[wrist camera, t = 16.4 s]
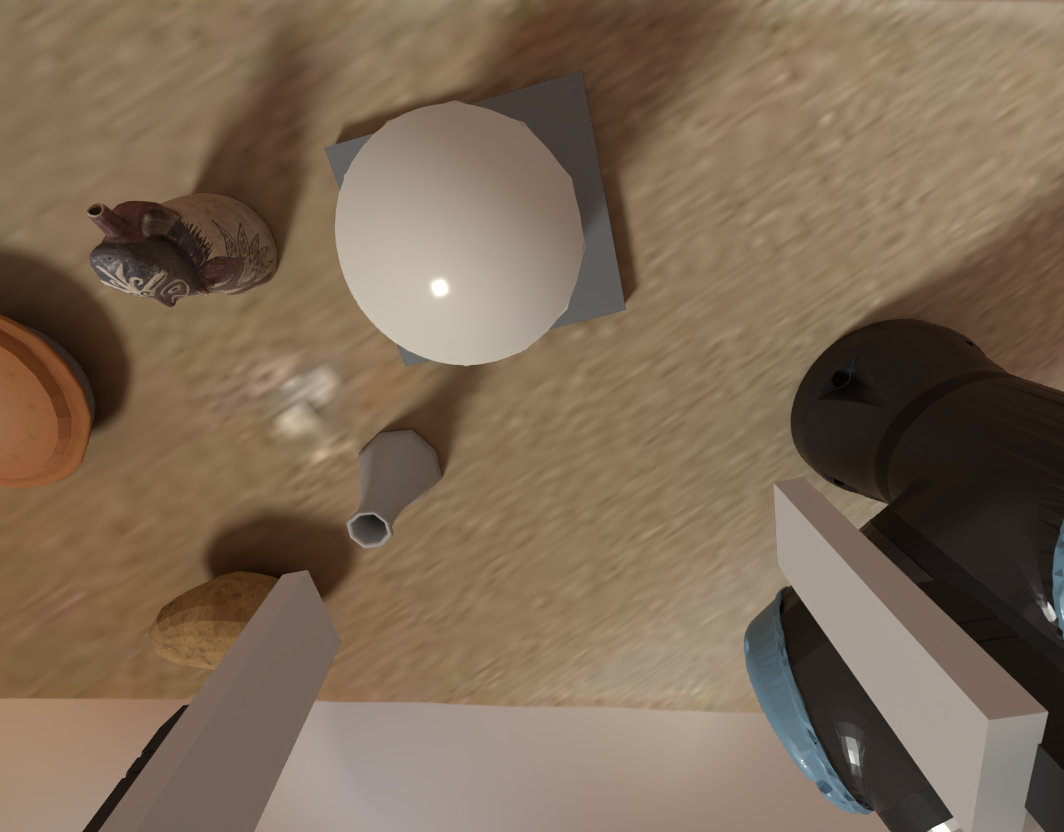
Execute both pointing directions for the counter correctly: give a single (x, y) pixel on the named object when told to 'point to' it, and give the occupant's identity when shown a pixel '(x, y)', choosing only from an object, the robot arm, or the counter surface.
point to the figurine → (183, 247)
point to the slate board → (569, 136)
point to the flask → (391, 483)
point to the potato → (209, 618)
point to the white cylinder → (459, 234)
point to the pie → (40, 408)
